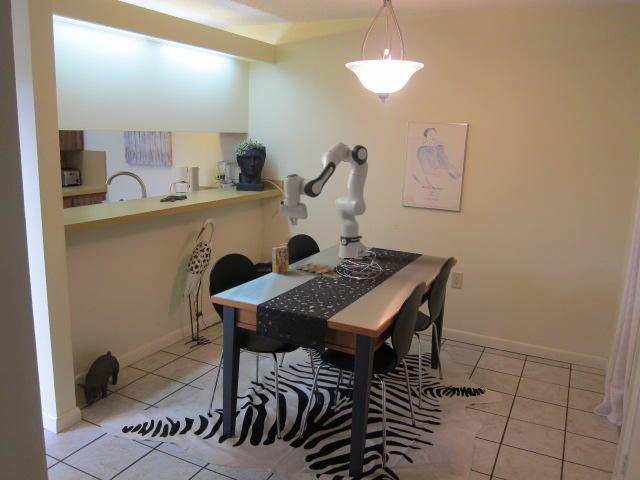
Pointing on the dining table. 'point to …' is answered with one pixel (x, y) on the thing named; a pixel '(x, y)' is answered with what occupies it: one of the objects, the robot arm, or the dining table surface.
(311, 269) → the tile
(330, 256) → the dining table surface
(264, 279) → the dining table surface
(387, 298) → the dining table surface
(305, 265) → the tile
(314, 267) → the tile
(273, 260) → the candy box
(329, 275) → the tile
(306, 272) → the slate board
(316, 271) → the tile
